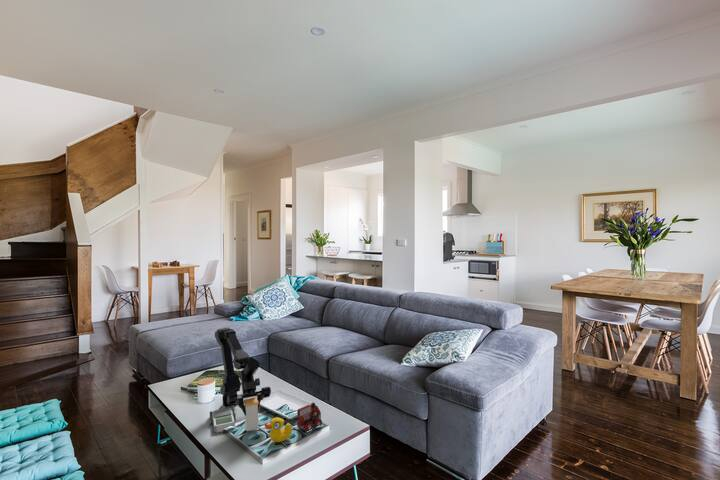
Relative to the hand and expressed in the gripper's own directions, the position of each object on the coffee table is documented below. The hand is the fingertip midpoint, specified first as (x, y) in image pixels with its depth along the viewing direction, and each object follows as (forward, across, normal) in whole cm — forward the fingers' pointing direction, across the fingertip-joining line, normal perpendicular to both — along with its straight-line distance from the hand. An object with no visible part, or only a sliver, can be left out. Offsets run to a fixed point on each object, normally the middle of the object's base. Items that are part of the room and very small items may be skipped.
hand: (251, 414), depth 167 cm
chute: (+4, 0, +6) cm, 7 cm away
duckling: (+15, +9, -4) cm, 18 cm away
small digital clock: (-5, -11, +16) cm, 20 cm away
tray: (-6, +18, +17) cm, 25 cm away
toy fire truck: (+12, +24, 0) cm, 27 cm away
